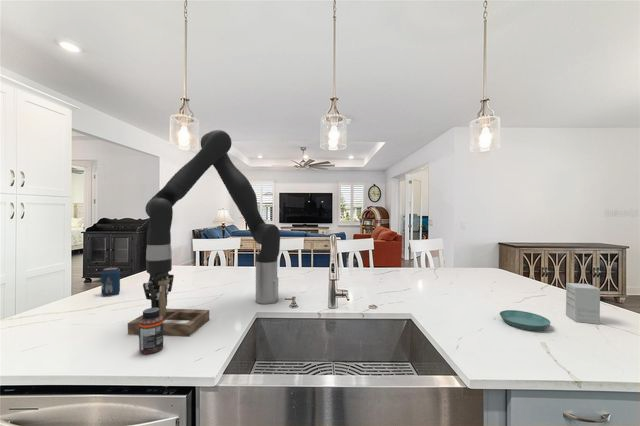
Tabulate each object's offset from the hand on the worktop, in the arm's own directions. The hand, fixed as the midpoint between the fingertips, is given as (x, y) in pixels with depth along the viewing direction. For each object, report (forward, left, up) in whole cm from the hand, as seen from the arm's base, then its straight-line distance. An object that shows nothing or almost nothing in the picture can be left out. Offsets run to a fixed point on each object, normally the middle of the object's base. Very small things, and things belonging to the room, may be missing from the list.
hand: (159, 308), depth 100 cm
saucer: (-125, -12, -6) cm, 126 cm away
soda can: (+44, -33, -6) cm, 55 cm away
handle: (0, 0, -5) cm, 5 cm away
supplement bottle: (-8, +16, -6) cm, 19 cm away
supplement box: (-149, -18, -6) cm, 150 cm away
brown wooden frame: (-4, 0, -6) cm, 7 cm away
